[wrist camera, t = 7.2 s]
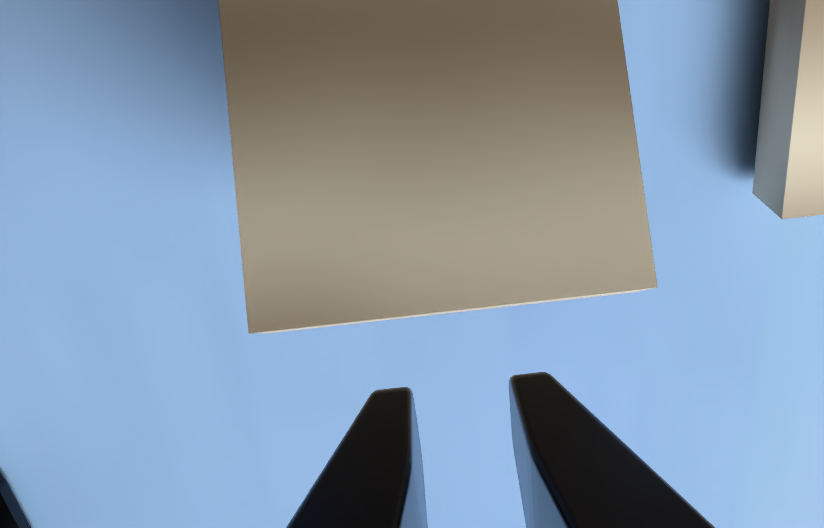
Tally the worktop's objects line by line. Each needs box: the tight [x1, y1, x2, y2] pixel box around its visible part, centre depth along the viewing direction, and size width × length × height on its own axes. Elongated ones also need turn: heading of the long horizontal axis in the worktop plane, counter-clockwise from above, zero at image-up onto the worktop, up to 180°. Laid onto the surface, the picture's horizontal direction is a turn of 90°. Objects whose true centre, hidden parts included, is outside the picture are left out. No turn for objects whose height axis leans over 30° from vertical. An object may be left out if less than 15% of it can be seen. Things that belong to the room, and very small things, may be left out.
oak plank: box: [218, 0, 657, 333], centre depth 13 cm, size 8×6×2 cm
